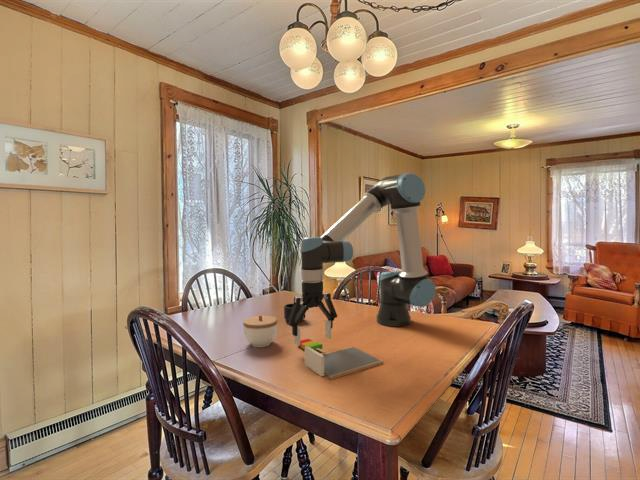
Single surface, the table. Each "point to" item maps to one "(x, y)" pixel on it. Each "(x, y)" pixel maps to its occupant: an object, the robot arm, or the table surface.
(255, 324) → the lidded bowl
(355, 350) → the slate board
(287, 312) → the mug
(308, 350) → the word card
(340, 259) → the robot arm
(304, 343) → the popsicle
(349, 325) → the table surface
